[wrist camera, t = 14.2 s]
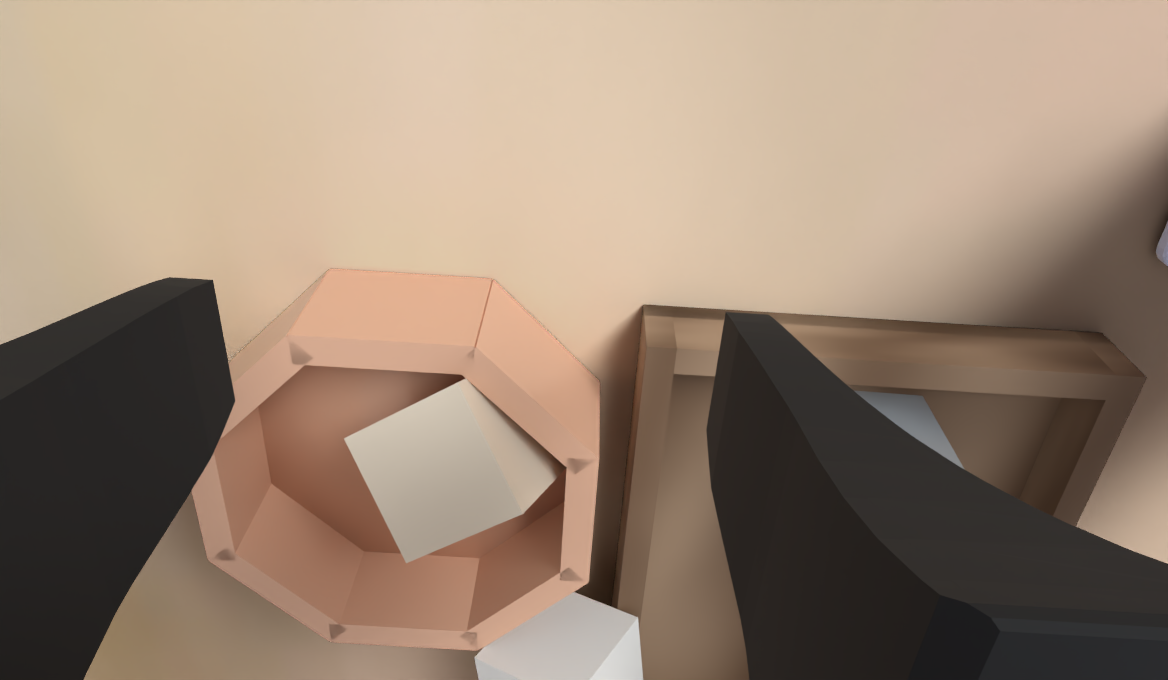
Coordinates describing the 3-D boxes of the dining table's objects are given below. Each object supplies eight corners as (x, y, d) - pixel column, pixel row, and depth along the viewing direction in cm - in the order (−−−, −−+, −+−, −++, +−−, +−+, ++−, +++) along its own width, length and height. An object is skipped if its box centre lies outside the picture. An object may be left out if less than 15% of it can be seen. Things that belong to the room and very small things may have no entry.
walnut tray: (1101, 333, 23) (1147, 377, 21) (944, 698, 31) (966, 754, 29) (643, 304, 23) (646, 346, 21) (603, 678, 31) (603, 733, 29)
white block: (570, 704, 23) (582, 788, 24) (638, 617, 25) (644, 698, 27) (474, 657, 24) (490, 738, 26) (546, 581, 27) (557, 659, 28)
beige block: (566, 467, 23) (511, 356, 23) (523, 513, 19) (457, 382, 19) (464, 512, 24) (411, 405, 24) (405, 563, 20) (343, 438, 20)
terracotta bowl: (607, 285, 22) (608, 354, 19) (584, 568, 28) (582, 656, 25) (213, 261, 22) (152, 326, 19) (267, 549, 28) (225, 636, 25)
